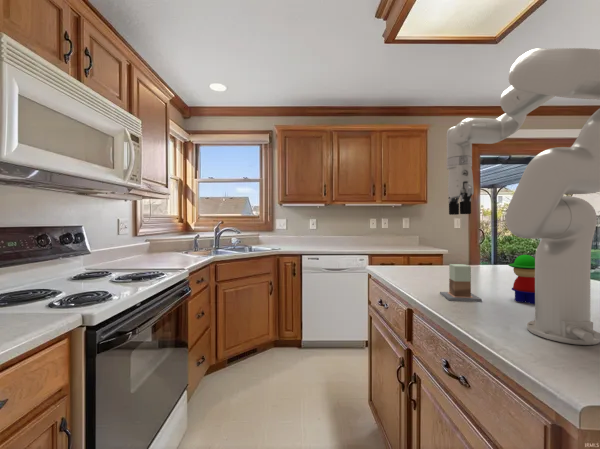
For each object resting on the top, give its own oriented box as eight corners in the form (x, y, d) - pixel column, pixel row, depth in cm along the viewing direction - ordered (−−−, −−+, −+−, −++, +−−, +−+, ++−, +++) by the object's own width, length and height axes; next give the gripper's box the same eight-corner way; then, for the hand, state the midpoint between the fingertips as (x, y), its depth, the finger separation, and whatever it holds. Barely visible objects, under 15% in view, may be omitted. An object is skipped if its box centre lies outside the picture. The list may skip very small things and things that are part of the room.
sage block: (470, 281, 98) (470, 266, 98) (454, 281, 99) (454, 266, 99) (464, 278, 103) (464, 264, 103) (449, 278, 104) (449, 264, 104)
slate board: (481, 301, 96) (481, 298, 96) (449, 300, 98) (449, 297, 98) (469, 294, 105) (469, 291, 105) (440, 294, 106) (439, 291, 106)
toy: (504, 300, 97) (504, 254, 96) (513, 296, 102) (512, 252, 102) (539, 306, 90) (539, 257, 89) (546, 301, 95) (546, 254, 95)
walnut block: (470, 296, 98) (470, 281, 98) (454, 296, 99) (454, 281, 99) (464, 293, 103) (464, 278, 103) (449, 292, 104) (449, 278, 104)
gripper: (483, 158, 92) (483, 213, 92) (460, 167, 109) (461, 214, 109) (457, 159, 93) (457, 214, 93) (439, 168, 110) (439, 215, 110)
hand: (459, 214), depth 101 cm, fingers open, 9 cm apart
